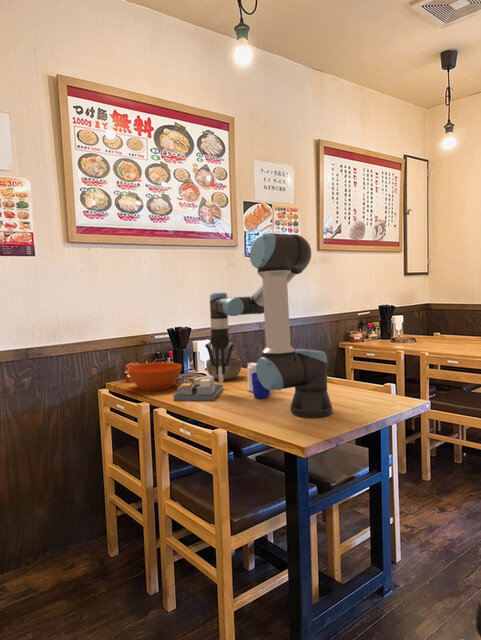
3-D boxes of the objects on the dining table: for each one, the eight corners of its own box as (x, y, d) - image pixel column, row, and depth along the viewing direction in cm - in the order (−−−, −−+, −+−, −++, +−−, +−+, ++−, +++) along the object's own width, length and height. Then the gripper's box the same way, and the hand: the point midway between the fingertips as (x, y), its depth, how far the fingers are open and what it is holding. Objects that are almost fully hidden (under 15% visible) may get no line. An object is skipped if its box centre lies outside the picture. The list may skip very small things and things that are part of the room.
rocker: (211, 378, 207) (210, 376, 207) (194, 382, 208) (194, 379, 208) (212, 377, 210) (212, 375, 210) (196, 380, 211) (195, 378, 211)
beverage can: (244, 391, 206) (243, 364, 205) (256, 387, 211) (255, 362, 211) (258, 393, 200) (257, 366, 199) (269, 390, 206) (269, 363, 205)
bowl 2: (210, 375, 245) (210, 356, 244) (243, 375, 243) (243, 356, 242) (203, 382, 228) (203, 362, 227) (239, 382, 226) (238, 361, 225)
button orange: (189, 393, 193) (189, 385, 193) (181, 393, 194) (180, 385, 194) (192, 391, 197) (191, 383, 197) (183, 391, 198) (183, 383, 198)
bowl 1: (150, 380, 235) (149, 361, 234) (192, 384, 224) (191, 363, 223) (117, 391, 212) (116, 370, 212) (162, 395, 201) (161, 373, 201)
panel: (213, 400, 189) (213, 388, 189) (173, 400, 192) (173, 388, 192) (223, 388, 211) (223, 378, 211) (187, 388, 214) (187, 378, 213)
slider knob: (212, 389, 200) (212, 378, 200) (206, 389, 201) (205, 378, 200) (214, 387, 204) (214, 376, 203) (207, 387, 204) (207, 376, 204)
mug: (246, 401, 187) (245, 377, 187) (255, 394, 199) (255, 371, 198) (265, 402, 184) (265, 378, 184) (273, 395, 196) (273, 372, 195)
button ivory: (209, 389, 192) (209, 380, 192) (200, 389, 193) (200, 380, 192) (211, 387, 196) (211, 379, 196) (202, 387, 196) (202, 379, 196)
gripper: (235, 327, 202) (237, 379, 204) (206, 327, 204) (208, 379, 206) (232, 328, 195) (234, 383, 197) (202, 329, 197) (204, 383, 199)
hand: (221, 381), depth 201 cm, fingers closed
